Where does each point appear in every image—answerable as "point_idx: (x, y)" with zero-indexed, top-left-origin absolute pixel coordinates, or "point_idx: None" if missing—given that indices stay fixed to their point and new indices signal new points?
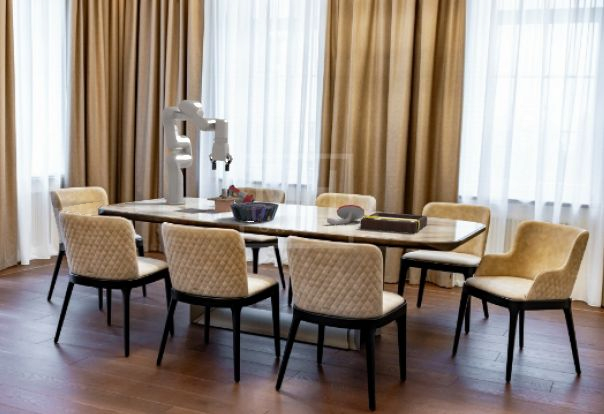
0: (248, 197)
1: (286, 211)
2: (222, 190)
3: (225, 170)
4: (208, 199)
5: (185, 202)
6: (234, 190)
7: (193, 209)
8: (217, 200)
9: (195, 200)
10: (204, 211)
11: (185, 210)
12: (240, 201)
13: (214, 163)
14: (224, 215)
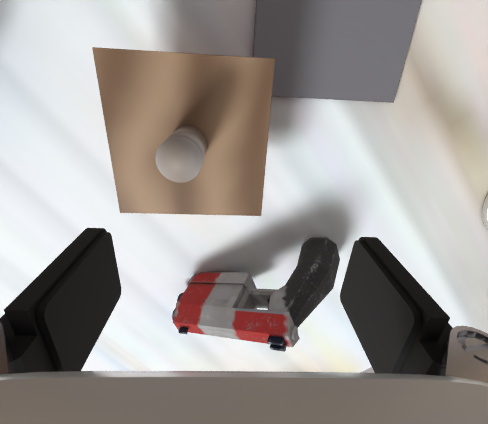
0: (190, 311)
1: (20, 292)
2: (180, 135)
3: (89, 231)
4: (261, 58)
5: (486, 219)
6: (256, 316)
7: (357, 63)
8: (177, 53)
9: (475, 306)
10: (263, 33)
11: None
12: (223, 284)
13: (399, 345)
14: (101, 9)
